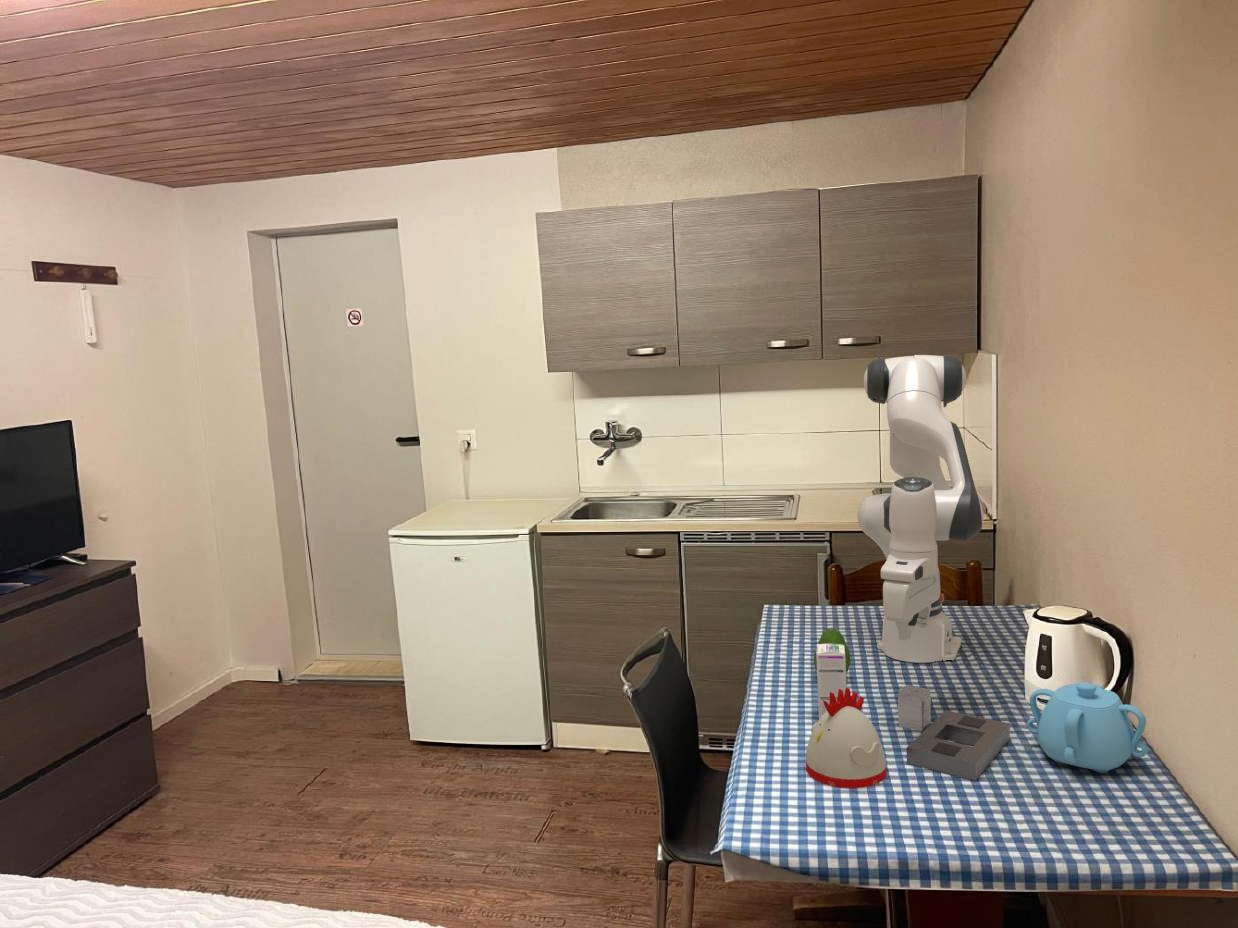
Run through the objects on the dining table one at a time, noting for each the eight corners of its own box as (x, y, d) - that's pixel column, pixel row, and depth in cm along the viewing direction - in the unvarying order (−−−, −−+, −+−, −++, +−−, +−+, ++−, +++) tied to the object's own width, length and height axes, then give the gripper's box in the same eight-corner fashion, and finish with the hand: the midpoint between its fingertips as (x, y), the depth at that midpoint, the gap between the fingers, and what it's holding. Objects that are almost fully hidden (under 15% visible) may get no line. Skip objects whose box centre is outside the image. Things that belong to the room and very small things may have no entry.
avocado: (836, 688, 198) (835, 635, 197) (807, 680, 204) (806, 628, 203) (857, 679, 203) (857, 627, 202) (828, 670, 209) (827, 620, 208)
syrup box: (848, 723, 180) (847, 652, 178) (817, 721, 181) (816, 651, 179) (846, 711, 186) (845, 643, 184) (817, 710, 187) (816, 642, 185)
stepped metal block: (905, 717, 181) (905, 684, 180) (932, 723, 178) (931, 689, 177) (897, 725, 178) (896, 691, 177) (923, 731, 174) (923, 696, 174)
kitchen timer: (790, 762, 164) (788, 683, 162) (852, 746, 169) (851, 669, 168) (837, 795, 151) (836, 709, 150) (903, 777, 157) (902, 694, 155)
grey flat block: (945, 724, 177) (945, 709, 177) (1009, 738, 170) (1009, 722, 169) (906, 763, 162) (906, 746, 161) (975, 780, 154) (975, 763, 154)
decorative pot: (1156, 779, 152) (1159, 701, 150) (1058, 780, 153) (1060, 703, 151) (1109, 738, 168) (1111, 667, 167) (1021, 739, 169) (1022, 669, 167)
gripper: (917, 551, 184) (917, 617, 185) (876, 571, 168) (877, 644, 170) (948, 554, 180) (948, 621, 182) (909, 575, 164) (910, 649, 166)
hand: (913, 632), depth 175 cm, fingers open, 8 cm apart
